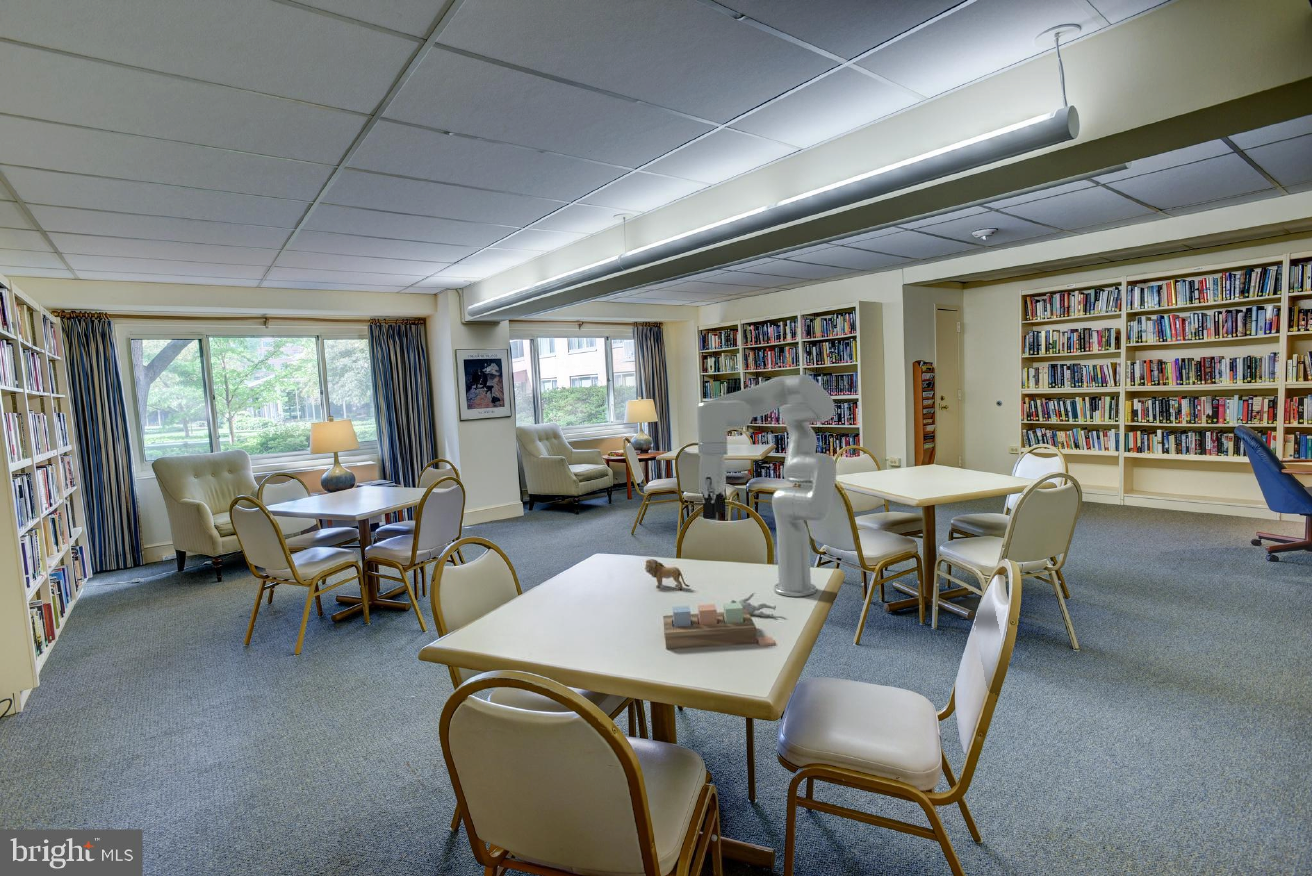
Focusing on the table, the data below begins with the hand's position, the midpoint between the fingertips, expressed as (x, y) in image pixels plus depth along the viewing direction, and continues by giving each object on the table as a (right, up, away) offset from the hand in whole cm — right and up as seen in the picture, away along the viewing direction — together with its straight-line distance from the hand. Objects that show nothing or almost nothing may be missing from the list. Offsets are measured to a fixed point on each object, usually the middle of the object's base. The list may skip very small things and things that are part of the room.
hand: (714, 515), depth 162 cm
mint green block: (+4, -28, -5) cm, 28 cm away
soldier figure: (+12, -29, +9) cm, 32 cm away
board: (-2, -30, -5) cm, 30 cm away
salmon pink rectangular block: (-2, -28, -5) cm, 28 cm away
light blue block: (-9, -28, -5) cm, 30 cm away
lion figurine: (-12, -28, +39) cm, 50 cm away
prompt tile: (+11, -30, -10) cm, 33 cm away
